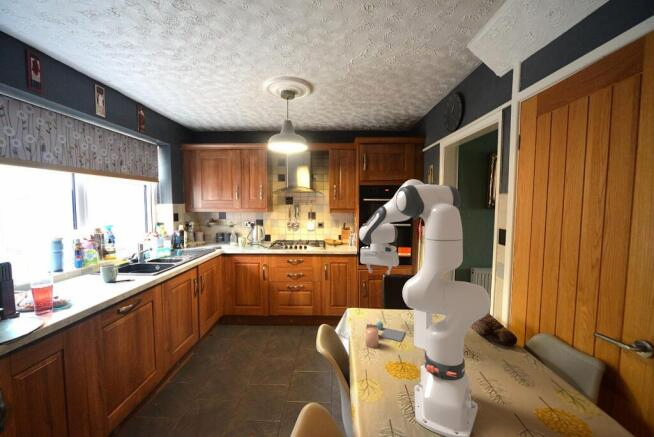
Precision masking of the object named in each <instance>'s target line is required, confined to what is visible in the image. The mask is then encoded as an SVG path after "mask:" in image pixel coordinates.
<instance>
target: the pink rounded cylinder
mask: <svg viewBox="0 0 654 437" xmlns="http://www.w3.org/2000/svg"><path fill="white" fill-rule="evenodd" d="M365 338H366V339H365V341H366V342H365V343H366V347H367V348H369V349H377V348H379V330H378V328H377V329H376V328H367V329H366V328H365Z"/></svg>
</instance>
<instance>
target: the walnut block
mask: <svg viewBox="0 0 654 437" xmlns="http://www.w3.org/2000/svg"><path fill="white" fill-rule="evenodd" d="M367 328H376V329H378V328H377V325H376V324H370V323H367V324H366V327H365V330H366V329H367Z"/></svg>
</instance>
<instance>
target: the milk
mask: <svg viewBox="0 0 654 437" xmlns="http://www.w3.org/2000/svg"><path fill="white" fill-rule="evenodd" d="M432 324H433V313H427V312H421V311H418V310H415V309H413V345H414V347H416V348H418V349H421V350H424V351H426V331H427V329H428V327H429V326H430V325H432Z"/></svg>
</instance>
